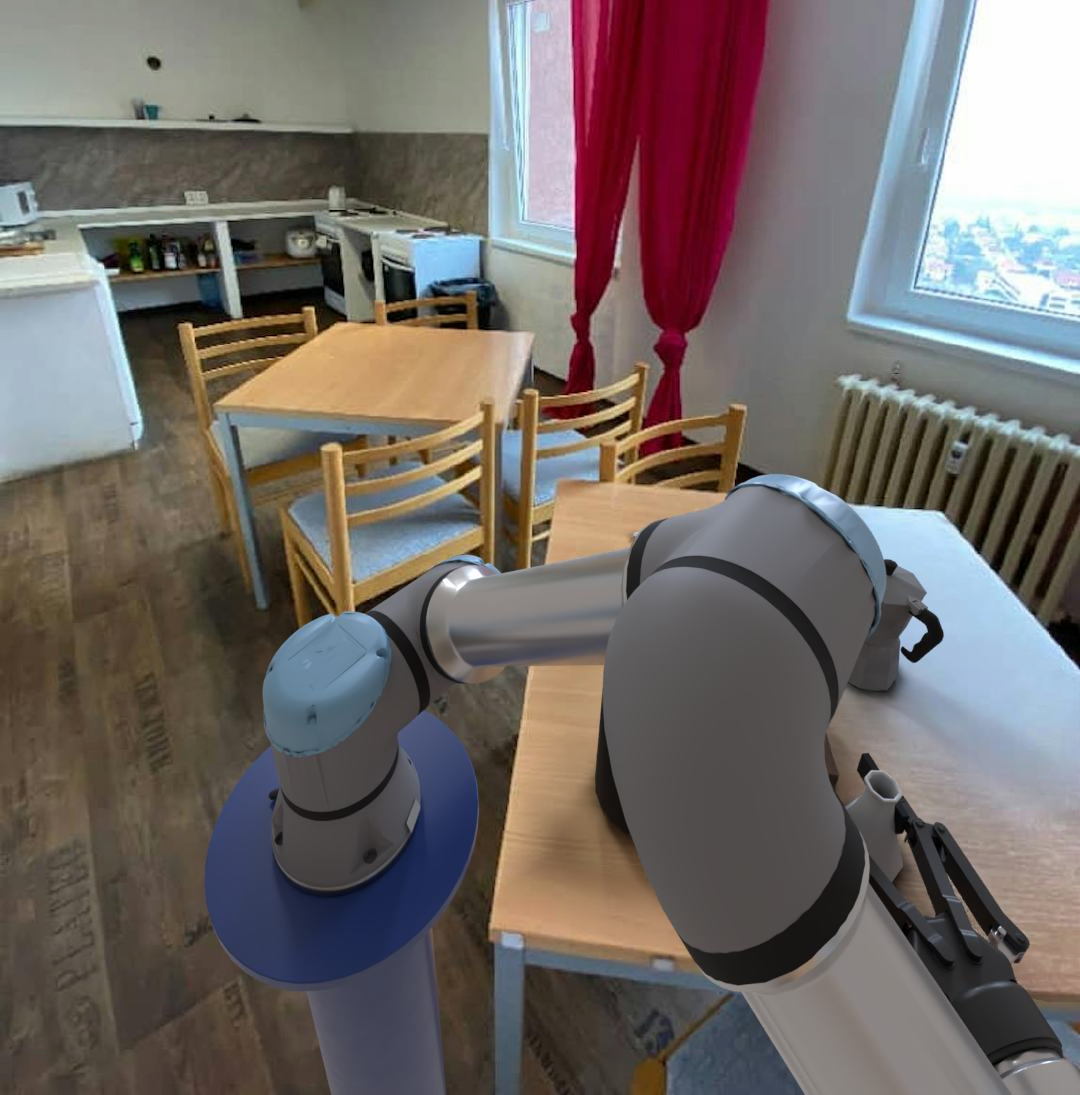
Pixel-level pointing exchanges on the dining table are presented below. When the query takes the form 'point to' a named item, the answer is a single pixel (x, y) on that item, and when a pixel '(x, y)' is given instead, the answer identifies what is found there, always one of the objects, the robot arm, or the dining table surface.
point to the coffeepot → (895, 631)
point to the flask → (879, 820)
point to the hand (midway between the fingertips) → (837, 764)
